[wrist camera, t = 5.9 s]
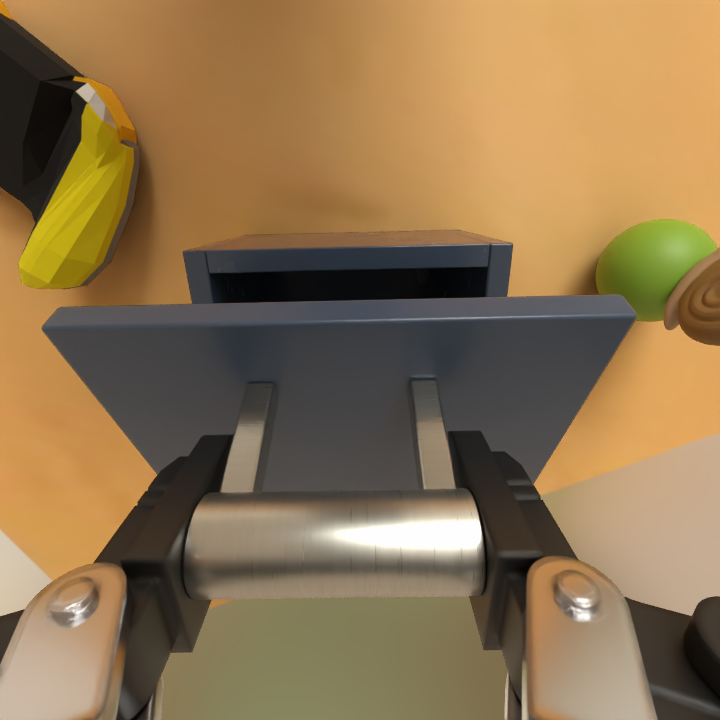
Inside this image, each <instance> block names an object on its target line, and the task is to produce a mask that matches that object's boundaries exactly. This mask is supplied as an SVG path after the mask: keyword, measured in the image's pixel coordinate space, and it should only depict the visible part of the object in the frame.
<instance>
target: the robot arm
mask: <svg viewBox="0 0 720 720" xmlns="http://www.w3.org/2000/svg"><path fill="white" fill-rule="evenodd" d="M447 435H448V440H449V445H450V450H451V456H452V461H453V466H454V471H455V476H456V482H457V487H458V488H466V489H468V490H470V492H471V493H472V495H473V497H474V499H475V501H476V504H477V507H478V510H479V513H480V517H481V522H482V526H483V532H484V539H485V548H486V582H485V587H484V591H483V593H482V594H481V595H479V596H469V598H470V601H471V605H472V609H473V612H474V616H475V620H476V623H477V627H478V631H479V635H480V638H481V641H482V646H483V649H484V650H502V653H503V656H504V659H505V662H506V666H507V669H508V675H507V680H506V689H505V718H504V719H505V720H720V597H717V596H715V597H709V598H706V599H704V600H702V601H701V602H700V603H698V605H697V607H696V609H695V611H694V613H693V615H692V616H689V615H685V614H681V613H678V612H674V611H670V610H666V609H662V608H659V607H655V606H651V605H648V604H644V603H640V602H637V601H634V600H631V599H629V598H627V597H624V596H623V594H622V593H621V591H620V590H619V589H618V587H617V586H616V585H615V584H614V583H613V582H612V581H611V580H610V579H609V578H608V577H607V576H605V575H604V574H603V573H601V572H600V571H599V570H597V569H596V568H594V567H592V566H590V565H589V564H587V563H584V562H582V561H580V560H578V559H577V557H576V555H575V554H574V552H573V550H572V549H571V547H570V545H569V543H568V542H567V540H566V538H565V537H564V535H563V533H562V532H561V530H560V528H559V527H558V525H557V524H556V522H555V520H554V518H553V517H552V515H551V513H550V512H549V510H548V508H547V507H546V505H545V503H544V502H543V500H541V499H540V495H539V493H538V491H537V490H536V488H535V486H534V485H532V481H531V480H530V478H529V476H528V475H527V473H526V471H525V470H524V468H523V466H522V465H521V464H520V463H518V462H517V461H516V460H515V459H514V458H512V457H511V456H510V455H509V454H507V453H506V452H505V451H491V449H490V447H489V445H488V444H487V442H486V440H485V438H484V436H483V434H482V432H481V431H479V430H477V431H449V432H448V434H447ZM233 436H234V434H232V435H203V436H202V437H201V438H200V439H199V441H198V442H197V444H196V445H195V447H194V448H193V450H192V452H191V453H190V455H189V456H180V457H178V458H177V459H176V460H174V461H173V462H172V463H170V464H169V465H168V466H166V467H165V468H164V469H162V470H161V471H160V472H159V474H158V475H157V476H156V478H155V479H154V480H153V482H152V483H151V485H150V486H149V487H148V491H145V493H144V494H143V496H142V497H141V498H140V500H139V501H138V505H137V506H135V507H134V508H133V509H132V511H131V512H130V513H129V515H128V516H127V518H126V519H125V520H124V522H123V523H122V524H121V526H120V527H119V529H118V530H117V531H116V533H115V534H114V535H113V537H112V538H111V539H110V541H109V542H108V544H107V545H106V546H105V548H104V549H103V550H102V552H101V553H100V555H99V556H98V557H97V559H96V560H95V561H94V563H93V564H88V565H85V566H82V567H79V568H76V569H74V570H72V571H69V572H68V573H66V574H64V575H62V576H60V577H59V578H57V579H56V580H54V581H53V582H51V583H50V584H49V585H47V586H46V587H45V588H44V589H43V590H41V591H40V592H39V593H38V594H37V595H36V596H35V597H34V598H33V600H32V601H31V602H30V603H29V604H28V606H27V607H26V609H24V610H21V611H17V612H14V613H10V614H7V615H4V616H0V720H162V705H163V693H164V683H163V679H162V676H161V674H162V672H163V669H164V667H165V665H166V662H167V660H168V657H169V655H170V653H174V652H175V653H176V652H192V651H193V648H194V646H195V643H196V640H197V637H198V635H199V632H200V629H201V627H202V624H203V621H204V619H205V616H206V613H207V610H208V608H209V605H210V602H211V600H195V599H193V598H191V597H190V596H189V595H188V594H187V592H186V589H185V586H184V581H183V570H182V562H183V550H184V542H185V537H186V532H187V528H188V525H189V522H190V519H191V516H192V513H193V511H194V509H195V507H196V505H197V503H198V502H199V500H200V499H201V498H202V497H203V496H204V495H206V494H208V493H214V492H219V490H220V486H221V482H222V478H223V474H224V471H225V467H226V463H227V459H228V455H229V451H230V447H231V443H232V439H233Z"/></svg>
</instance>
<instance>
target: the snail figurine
mask: <svg viewBox="0 0 720 720" xmlns="http://www.w3.org/2000/svg"><path fill="white" fill-rule="evenodd" d="M595 279H596V286H597V290H598V292H599V295H615V294H619V295H622V296H623V297H624V298H625V299H626V301H627V302H628V303H629V304H630V306H631V307H632V308H633V309H634V311H635V312H636V313H637V318H636V320H637V321H647V322H652V321H662V320H664V325H665V328H666V329H667V330H672V329H674V328H676V327H677V326H678V325H679V324H680V326H681V328H682V330H683V331H684V332H685V333H686V335H687V336H689V337H690V338H692V339H693V340H695V341H698V342H701V343H704V344H708V345H716V346H720V247H719V248H717V246H716V244H715V243H714V241H713V240H712V238H711V237H710V236H709V235H708V234H707V233H706V232H705V231H703V230H702V229H700V228H699V227H697V226H695V225H693V224H691V223H688V222H684V221H680V220H673V219H659V220H652V221H648V222H644V223H641V224H638V225H635V226H633V227H631V228H629V229H627V230H626V231H624V232H622V233H621V234H620V235H618V236H617V237H616V238H615V239H614V240H613V241H612V242H611V243H610V244H609V245H608V246H607V247H606V249H605V250H604V251H603V253H602V255H601V257H600V259H599V261H598V264H597V268H596V276H595Z"/></svg>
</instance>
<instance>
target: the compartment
mask: <svg viewBox="0 0 720 720" xmlns="http://www.w3.org/2000/svg"><path fill="white" fill-rule="evenodd" d="M512 250H513V243H510V242H506V241H502V240H498V239H494V238H490V237H486V236H482V235H478V234H473V233H469V232H465V231H461V230H430V231H389V232H348V233H308V234H267V235H244V236H240V237H236V238H232V239H228V240H224V241H220V242H216V243H212V244H208V245H205V246H201V247H197V248H193V249H189V250H185V251H183V256H184V262H185V267H186V273H187V278H188V283H189V289H190V294H191V300H192V304H214V303H259V302H303V301H348V300H392V299H437V298H481V297H507V293H508V284H509V276H510V267H511V258H512Z"/></svg>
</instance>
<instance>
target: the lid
mask: <svg viewBox="0 0 720 720" xmlns="http://www.w3.org/2000/svg"><path fill="white" fill-rule="evenodd" d="M636 318H637V313H636V312H635V311H634V309H633V308H632V307H631V306H630V304H629V303H628V302H627V301H626V299H625V298H624V297H623V296H622V295H619V294H615V295H570V296H526V297H481V298H437V299H392V300H348V301H303V302H259V303H214V304H170V305H125V306H81V307H60V308H58V309H57V310H56V311H55V312H54V313H53V314H52V316H51V317H50V318H49V319H48V320H47V321H46V323H45V324H44V325H43V326H42V331H43V332H44V333H45V335H46V336H47V337H48V338H49V340H50V341H51V342H52V343H53V345H54V346H55V347H56V348H57V350H58V351H59V352H60V353H61V355H62V356H63V357H64V358H65V360H66V361H67V362H68V363H69V365H70V366H71V367H72V368H73V370H74V371H75V372H76V373H77V375H78V376H79V377H80V378H81V380H82V381H83V382H84V383H85V385H86V386H87V387H88V389H89V390H90V391H91V392H92V394H93V395H94V396H95V397H96V399H97V400H98V401H99V402H100V404H101V405H102V406H103V407H104V409H105V410H106V411H107V412H108V414H109V415H110V416H111V417H112V419H113V420H114V421H115V422H116V424H117V425H118V426H119V427H120V429H121V430H122V431H123V432H124V434H125V435H126V436H127V437H128V439H129V440H130V441H131V442H132V444H133V445H134V446H135V447H136V449H137V450H138V451H139V452H140V454H141V455H142V456H143V457H144V459H145V460H146V461H147V462H148V464H149V465H150V466H151V467H152V469H153V470H154V471H155V472H156V474H157V475H158V474H159V472H160V471H161V470H162V469H164V468H165V467H166V466H168V465H169V464H170V463H172V462H173V461H174V460H176V459H177V458H178V457H180V456H189V455H190V453H191V452H192V450H193V448H194V447H195V445H196V444H197V442H198V441H199V439H200V438H201V437H202V436H203V435H232V434H234V436H233V439H232V443H231V447H230V451H229V455H228V459H227V463H226V467H225V471H224V474H223V478H222V482H221V486H220V490H219V492H214V493H208V494H206V495H204V496H203V497H202V498H201V499H200V500H199V502H198V503H197V505H196V507H195V509H194V511H193V513H192V516H191V519H190V522H189V525H188V528H187V532H186V537H185V542H184V550H183V562H182V570H183V581H184V586H185V589H186V592H187V594H188V595H189V596H190V597H191V598H193V599H195V600H217V599H288V598H356V597H357V598H360V597H429V596H430V597H432V596H479V595H481V594H482V593H483V591H484V587H485V582H486V548H485V539H484V532H483V526H482V522H481V517H480V513H479V510H478V507H477V504H476V501H475V499H474V497H473V495H472V493H471V492H470V490H468V489H466V488H458V487H457V482H456V476H455V471H454V466H453V461H452V456H451V450H450V445H449V440H448V435H447V434H448V432H449V431H477V430H479V431H481V432H482V434H483V436H484V438H485V440H486V442H487V444H488V445H489V447H490V449H491V451H505V452H506V453H507V454H509V455H510V456H511V457H512V458H514V459H515V460H516V461H517V462H518V463H520V464H521V465H522V466H523V468H524V470H525V471H526V473H527V475H528V476H529V478H530V480H531V481H532V485H533V484H534V482H535V481H536V479H537V478H538V476H539V474H540V473H541V471H542V470H543V468H544V466H545V465H546V463H547V462H548V460H549V458H550V457H551V455H552V453H553V452H554V450H555V449H556V447H557V445H558V444H559V442H560V441H561V439H562V437H563V436H564V434H565V433H566V431H567V429H568V428H569V426H570V424H571V423H572V421H573V420H574V418H575V416H576V415H577V413H578V412H579V410H580V408H581V407H582V405H583V403H584V402H585V400H586V399H587V397H588V395H589V394H590V392H591V391H592V389H593V387H594V386H595V384H596V383H597V381H598V379H599V378H600V376H601V374H602V373H603V371H604V370H605V368H606V366H607V365H608V363H609V362H610V360H611V358H612V357H613V355H614V354H615V352H616V350H617V349H618V347H619V345H620V344H621V342H622V341H623V339H624V337H625V336H626V334H627V333H628V331H629V329H630V328H631V326H632V325H633V323H634V321H635V320H636Z"/></svg>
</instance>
